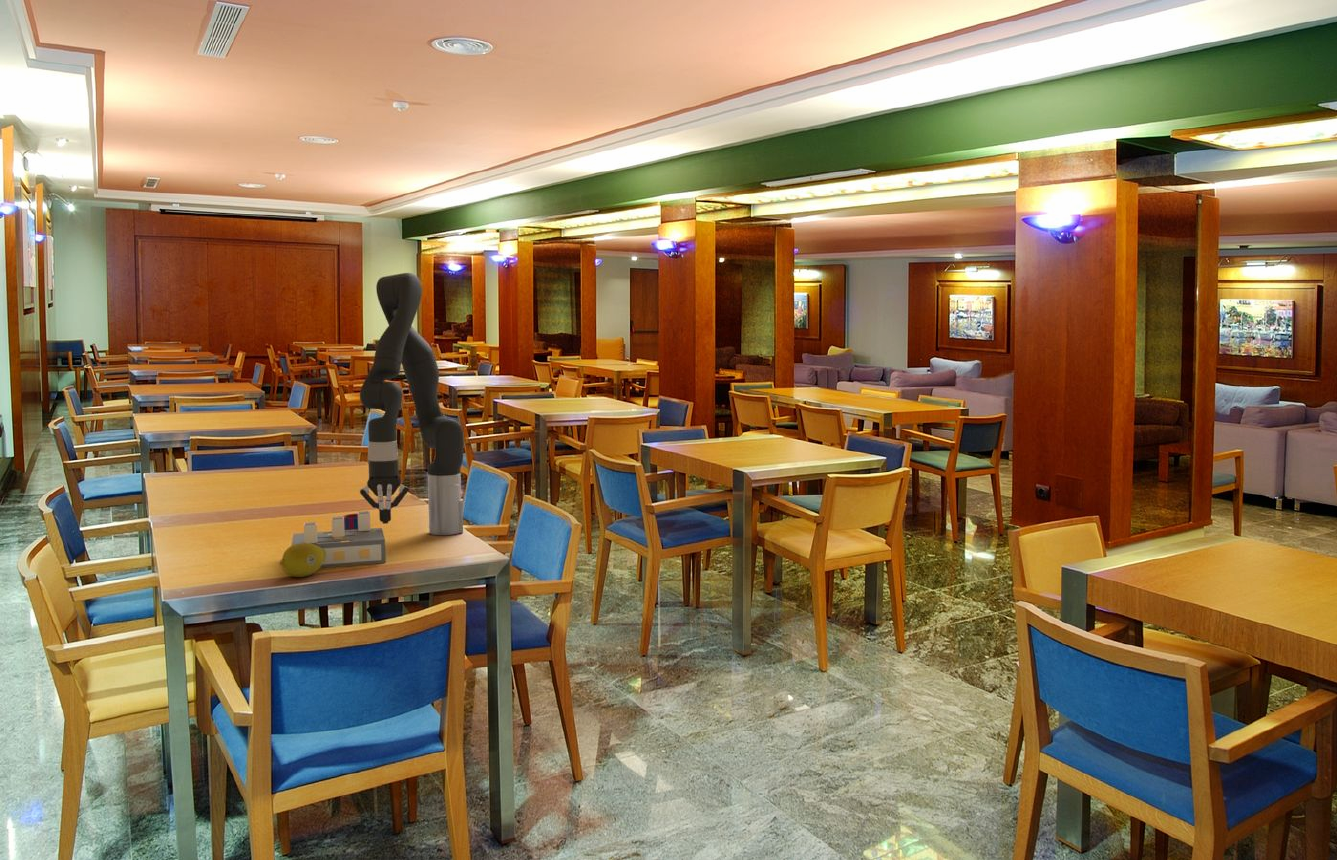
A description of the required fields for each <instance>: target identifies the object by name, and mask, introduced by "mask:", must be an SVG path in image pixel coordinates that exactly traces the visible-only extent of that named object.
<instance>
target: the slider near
mask: <svg viewBox="0 0 1337 860" xmlns="http://www.w3.org/2000/svg"><path fill="white" fill-rule="evenodd" d="M317 532H318V523H317V522H315V521H314V522H312V521H311V522H310V521H309V522H304V523H303V533H304V543H317V541H318V540H317Z"/></svg>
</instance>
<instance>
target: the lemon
mask: <svg viewBox="0 0 1337 860" xmlns="http://www.w3.org/2000/svg"><path fill="white" fill-rule="evenodd" d="M325 557H326V551H325V550H324V549H323V548H320V547H318V546H316V545H314V544H310V543H299V544H295V545H293V546H289V547H287V549H285V551H284V553H283V555H282V559H281V560H280V562H279V564H280V566H281V567H283V570H284V572H286V574H287V575H289V576H290V577H294V578H305V577H308V576H310V575H311V576H312V574H314V573H316V572H317V571H318V570H319V569H321V568H320V566H321V565H322V562H323V561H324V560H325Z"/></svg>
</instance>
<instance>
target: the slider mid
mask: <svg viewBox="0 0 1337 860" xmlns="http://www.w3.org/2000/svg"><path fill="white" fill-rule="evenodd" d="M343 516H344V515H343ZM343 516H332V517H331V531H332V537H345V530H344V517H343Z"/></svg>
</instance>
